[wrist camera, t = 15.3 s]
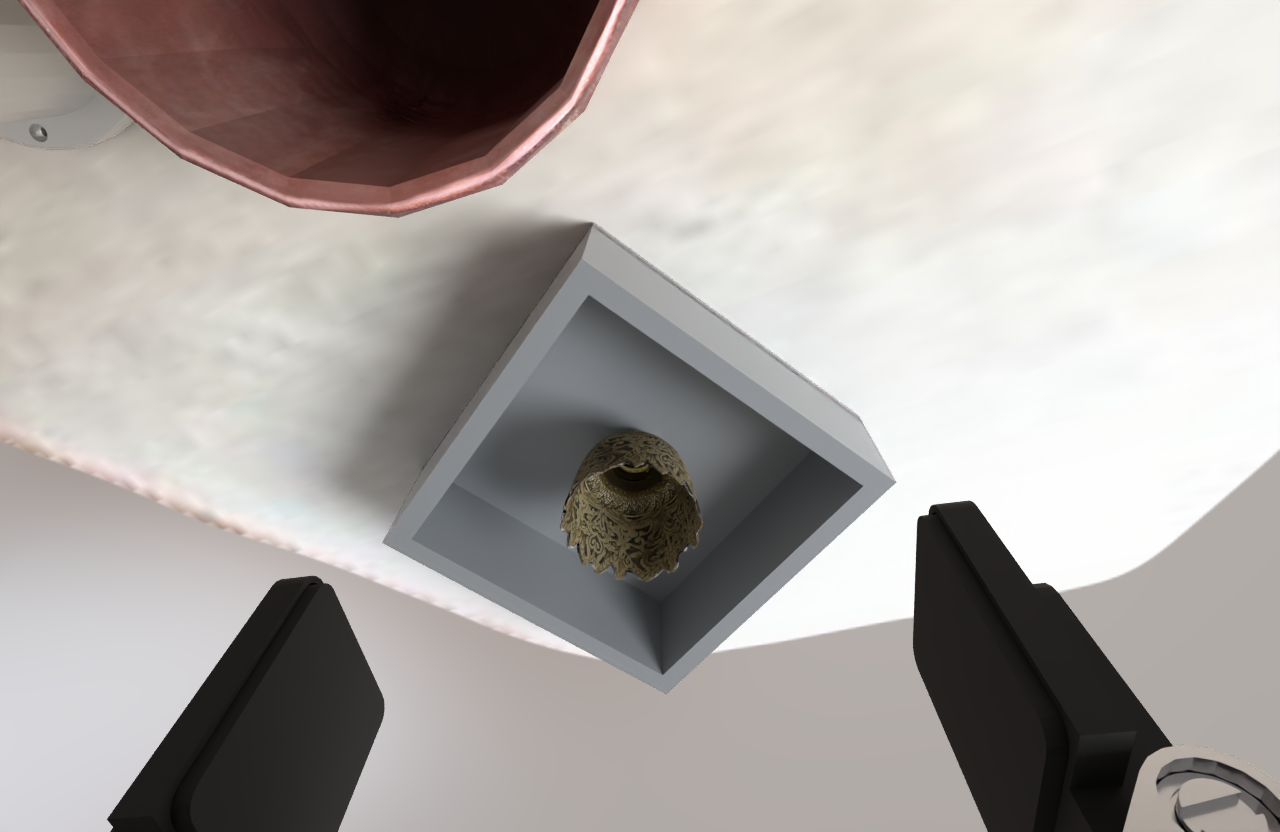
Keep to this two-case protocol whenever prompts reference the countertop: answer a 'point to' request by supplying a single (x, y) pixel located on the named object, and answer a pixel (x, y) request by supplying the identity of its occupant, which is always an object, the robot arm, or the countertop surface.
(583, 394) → the crate
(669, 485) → the brown patterned lamp shade
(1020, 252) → the countertop surface
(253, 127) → the pottery
